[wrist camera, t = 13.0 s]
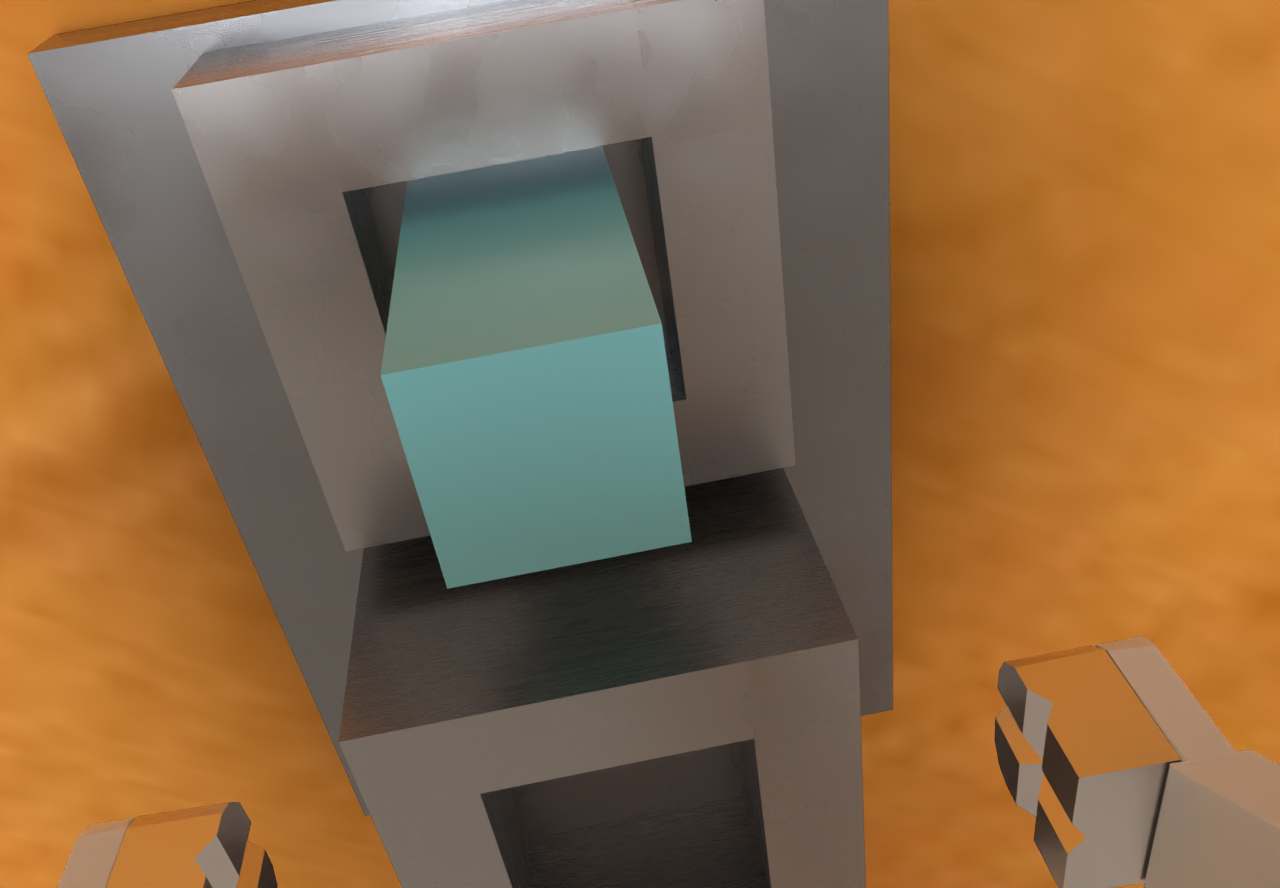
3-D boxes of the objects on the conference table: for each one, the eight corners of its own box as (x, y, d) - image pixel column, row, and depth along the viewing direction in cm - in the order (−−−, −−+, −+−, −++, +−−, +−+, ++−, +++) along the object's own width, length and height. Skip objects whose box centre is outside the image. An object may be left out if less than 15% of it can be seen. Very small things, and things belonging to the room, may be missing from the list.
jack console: (877, 673, 34) (986, 921, 26) (369, 774, 33) (342, 1056, 26) (863, -106, 21) (1059, -30, 14) (54, 35, 21) (-161, 186, 14)
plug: (629, 320, 24) (691, 542, 17) (452, 353, 24) (447, 588, 17) (602, 146, 22) (661, 323, 15) (407, 181, 22) (379, 375, 15)
